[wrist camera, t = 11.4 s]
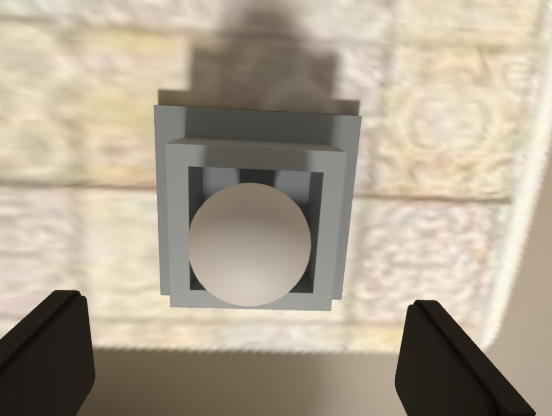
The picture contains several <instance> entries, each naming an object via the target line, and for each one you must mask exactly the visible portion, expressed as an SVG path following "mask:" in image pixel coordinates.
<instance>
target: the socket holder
mask: <svg viewBox="0 0 552 416" xmlns="http://www.w3.org/2000/svg"><path fill="white" fill-rule="evenodd" d="M361 118H362V116H350V115H331V114H313V113H294V112H276V111H257V110H239V109H220V108H202V107H183V106H165V105H154V125H155V152H156V179H157V206H158V233H159V261H160V288H161V295H170V307H187V308H229V309H270V310H311V311H331V301H332V299H337V300H341V297H342V288H343V279H344V270H345V261H346V252H347V244H348V235H349V226H350V217H351V208H352V199H353V190H354V181H355V172H356V163H357V154H358V145H359V136H360V127H361ZM240 183H258V184H264V185H267V186H270V187H273V188H276V189H277V190H279V191H281V192H283V193H285V194H286V195H287V196H288V197H290V198H291V199H292V200H293V201H294V202H295V203H296V204H297V206H298V207H299V208H300V209H301V211H302V213H303V215H304V217H305V219H306V221H307V224H308V227H309V231H310V235H311V250H310V257H309V261H308V264H307V267H306V269H305V272H304V274H303V275H302V277H301V278H300V280H299V281H298V283H297V284H296V285H295V286H294V287H293V288H292V289H291V290H290V291H289V292H288V293H287V294H285V295H284V296H282V297H281V298H280V299H277V300H275V301H273V302H271V303H268V304H264V305H260V306H249V307H248V306H238V305H234V304H230V303H227V302H225V301H223V300H221V299H219V298H216V297H215V296H214V295H212V294H211V293H210V292H208V291H207V290H206V289H205V288H204V286H203V285H202V284H201V283H200V282H199V280H198V279H197V277H196V275H195V274H194V271H193V269H192V266H191V263H190V261H189V255H188V234H189V230H190V226H191V223H192V220H193V218H194V217H195V215H196V213H197V211H198V210H199V208H200V207H201V206H202V205H203V204H204V202H205V201H206V200H207V199H208V198H210V197H211V196H212V195H213V194H215V193H216V192H218V191H220V190H222V189H224V188H226V187H228V186H232V185H235V184H240Z"/></svg>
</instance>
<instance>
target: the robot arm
mask: <svg viewBox="0 0 552 416" xmlns="http://www.w3.org/2000/svg"><path fill="white" fill-rule="evenodd" d="M94 380H95V367H94V359H93V350H92V341H91V332H90V323H89V314H88V305H87V299H86V297H85V296H81V294H80V292H79V291H76V290H55V291H54V292H52V293H51V294H50V295H49V296H48V297H47V298H46V299H44V300H43V301H42V302H41V303H40V304H39V305H38V306H37V307H36V308H35V309H33V310H32V311H31V312H30V313H29V314H28V315H27V316H26V317H25V318H23V319H22V320H21V321H20V322H19V323H18V324H17V325H16V326H15V327H14V328H12V329H11V330H10V331H9V332H8V333H7V334H6V335H5V336H4V337H2V338H1V339H0V416H76V414H77V412H78V411H79V409H80V407H81V405H82V404H83V402H84V401H85V399H86V397H87V395H88V394H89V392H90V390H91V389H92V387H93V384H94ZM395 388H396V391H397V394H398V396H399V398H400V400H401V402H402V404H403V407H404V409H405V411H406V413H407V415H408V416H535V415H536V412H535V411H534V410H533V409H532V408H531V406H530V405H529V404H528V403H527V402H526V401H525V400H524V399H523V397H522V396H521V395H520V394H519V393H518V392H517V391H516V389H515V388H514V387H513V386H512V385H511V384H510V383H509V382H508V381H507V379H506V378H505V377H504V376H503V375H502V374H501V373H500V371H499V370H498V369H497V368H496V367H495V366H494V365H493V363H492V362H491V361H490V360H489V359H488V358H487V357H486V356H485V354H484V353H483V352H482V351H481V350H480V349H479V348H478V346H477V345H476V344H475V343H474V342H473V341H472V340H471V338H470V337H469V336H468V335H467V334H466V333H465V332H464V331H463V329H462V328H461V327H460V326H459V325H458V324H457V323H456V321H455V320H454V319H453V318H452V317H451V316H450V315H449V314H448V312H447V311H446V310H445V309H444V308H443V307H442V306H441V304H440V303H439V302H437V301H435V300H416V301H415V302H414V304H413V305H409V306H408V309H407V314H406V320H405V325H404V331H403V337H402V342H401V348H400V353H399V359H398V364H397V370H396V375H395Z"/></svg>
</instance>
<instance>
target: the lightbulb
mask: <svg viewBox="0 0 552 416" xmlns="http://www.w3.org/2000/svg"><path fill="white" fill-rule="evenodd" d="M310 250H311V235H310V231H309V227H308V224H307V221H306V219H305V217H304V215H303V213H302V211H301V209H300V208H299V207H298V206H297V204H296V203H295V202H294V201H293V200H292V199H291V198H290V197H288V196H287V195H286V194H285V193H283V192H281V191H279V190H277V189H276V188H273V187H270V186H267V185H264V184H258V183H240V184H235V185H232V186H228V187H226V188H224V189H222V190H220V191H218V192H216V193H215V194H213V195H212V196H211V197H210V198H208V199H207V200H206V201H205V202H204V204H203V205H202V206H201V207H200V208H199V210H198V211H197V213H196V215H195V217H194V218H193V220H192V223H191V226H190V230H189V234H188V255H189V261H190V263H191V266H192V269H193V271H194V274H195V275H196V277H197V279H198V280H199V282H200V283H201V284H202V285H203V286H204V288H205V289H206V290H207V291H208V292H210V293H211V294H212V295H214V296H215V297H216V298H219V299H221V300H223V301H225V302H227V303H230V304H234V305H238V306H248V307H249V306H260V305H264V304H268V303H271V302H273V301H275V300H277V299H280V298H281V297H282V296H284V295H285V294H287V293H288V292H289V291H290V290H291V289H292V288H293V287H294V286H295V285H296V284H297V283H298V281H299V280H300V278H301V277H302V275H303V274H304V272H305V269H306V267H307V264H308V261H309V257H310Z"/></svg>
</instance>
